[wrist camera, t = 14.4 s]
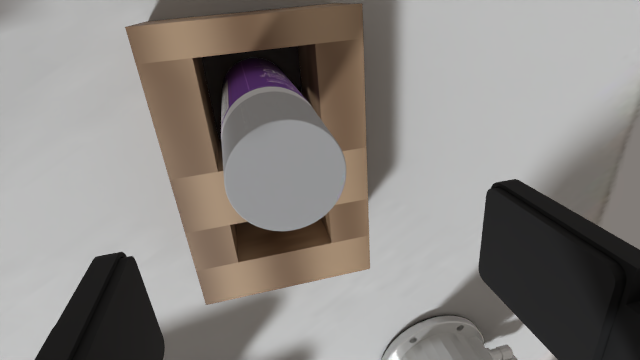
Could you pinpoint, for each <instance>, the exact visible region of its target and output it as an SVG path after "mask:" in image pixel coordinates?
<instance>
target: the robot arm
mask: <svg viewBox="0 0 640 360" xmlns="http://www.w3.org/2000/svg"><path fill="white" fill-rule="evenodd" d="M479 273H480V276H481V278H482V279H483V281H484V282H485V283H486V284H487V285H488V286H489V287H490V288H491V289H492V290H493V291H494V292H495V294H496V295H497V296H498V297H499V298H500V299H501V300H502V301H503V302H504V303H505V304H506V305H507V306H508V307H509V308H510V309H511V310H512V312H513V313H514V314H515V315H516V316H517V317H518V318H519V319H520V320H521V321H522V322H523V323H524V324H525V325H526V326H527V327H528V328H529V330H530V331H531V332H532V333H533V334H534V335H535V336H536V337H537V338H538V339H539V340H540V341H541V342H542V343H543V344H544V345H545V346H546V347H547V349H548V350H549V351H550V352H551V353H552V354H553V355H554V356H555V357H556V358H557V359H558V360H640V250H639V249H637V248H635V247H634V246H632V245H630V244H629V243H627V242H625V241H623V240H622V239H620V238H618V237H616V236H615V235H613V234H611V233H609V232H608V231H606V230H604V229H603V228H601V227H599V226H597V225H596V224H594V223H592V222H590V221H589V220H587V219H585V218H583V217H582V216H580V215H578V214H576V213H575V212H573V211H571V210H569V209H568V208H566V207H564V206H563V205H561V204H559V203H557V202H556V201H554V200H552V199H550V198H549V197H547V196H545V195H543V194H542V193H540V192H538V191H536V190H535V189H533V188H531V187H529V186H528V185H526V184H524V183H523V182H521V181H519V180H516V179H514V180H508V181H502V182H497V183H494V184H493V185H492V187H491V189H489V190H488V192H487V195H486V203H485V213H484V222H483V231H482V240H481V250H480V259H479ZM164 348H165V347H164V339H163V336H162V333H161V330H160V327H159V324H158V322H157V319H156V316H155V313H154V311H153V308H152V305H151V302H150V299H149V297H148V294H147V291H146V288H145V286H144V283H143V280H142V277H141V274H140V272H139V269H138V266H137V263H136V261H135V259H134V257H132V256H130V257H126V255H125V254H124V253H123V252H119V253H113V254H108V255H102V256H97V257H95V258H94V259H93V261H92V263H91V264H90V266H89V268H88V270H87V271H86V273H85V275H84V277H83V278H82V280H81V282H80V284H79V285H78V287H77V289H76V291H75V292H74V294H73V296H72V297H71V299H70V301H69V303H68V304H67V306H66V308H65V310H64V311H63V313H62V315H61V317H60V318H59V320H58V322H57V324H56V325H55V326H54V328H53V329H52V331H51V332H50V334H49V336H48V338H47V339H46V341H45V343H44V344H43V346H42V348H41V350H40V351H39V353H38V355H37V357H36V358H35V360H163V357H164ZM382 360H517V358H516V357H515V356H514V355H513V352H512V349H511V348H510V347H509V346H508V345H503V346H499V347H496V348H495V349H491V350H490V349H489V348H485V347H484V340H483V336H482V334H481V333H480V331H479V330H478V329H477V327H476V326H475V325H474V324H473V323H472V322H471V321H469V320H467V319H465V318H462V317H458V316H439V317H435V318H431V319H427V320H425V321H422V322H420V323H418V324H416V325H414V326H412V327H410V328H409V329H407V330H406V331H405V332H403V333H402V334H400V335H399V336H398V337H397V338H396V339H395V340H394V341H393V342H392V343H391V345H390V346H389V347H388V349H387V350H386V352H385V354H384V356H383V358H382Z"/></svg>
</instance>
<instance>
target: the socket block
mask: <svg viewBox="0 0 640 360" xmlns="http://www.w3.org/2000/svg"><path fill="white" fill-rule="evenodd" d="M125 28H126V31H127V35H128V38H129V42H130V45H131V49H132V52H133V55H134V59H135V62H136V66H137V69H138V73H139V76H140V80H141V83H142V86H143V90H144V93H145V97H146V100H147V104H148V107H149V110H150V114H151V117H152V121H153V124H154V128H155V131H156V134H157V138H158V141H159V145H160V148H161V152H162V155H163V158H164V162H165V165H166V169H167V172H168V176H169V179H170V183H171V186H172V189H173V193H174V196H175V200H176V203H177V207H178V210H179V213H180V217H181V220H182V224H183V227H184V231H185V234H186V237H187V241H188V244H189V248H190V251H191V255H192V258H193V262H194V265H195V268H196V272H197V275H198V279H199V282H200V286H201V289H202V292H203V296H204V299H205V303H206V305H208V304H213V303H217V302H222V301H226V300H231V299H235V298H240V297H244V296H249V295H253V294H258V293H262V292H267V291H271V290H276V289H280V288H285V287H289V286H294V285H298V284H303V283H307V282H312V281H316V280H321V279H325V278H330V277H334V276H339V275H343V274H348V273H352V272H357V271H361V270H366V269H370V252H369V218H368V183H367V149H366V115H365V80H364V46H363V11H362V4H343V3H332V4H322V5H312V6H301V7H291V8H281V9H271V10H260V11H250V12H240V13H229V14H219V15H209V16H199V17H188V18H178V19H168V20H157V21H147V22H143V23H140V24H136V25H132V26H128V27H125ZM293 46H298V55H299V64H300V74H301V84H302V94H303V96H304V98H305V99H306V100H307V101H308V102H309V103H310V105H311V106H312V107H313V109H314V110H315V112H316V113H317V115H318V116H319V117H320V119H321V120H322V122H323V123H324V124H325V126H326V127H327V129H328V130H329V131H330V133H331V134H332V136H333V137H334V138H335V140H336V141H337V143H338V144H339V146H340V148H341V150H342V152H343V154H344V158H345V162H346V181H345V185H344V189H343V191H342V193H341V196H340V198H339V199H338V201H337V202H336V204H335V205H334V206H333V208H332V209H331V210H330V211H329V212H328V213H327V214H326V215H325V216H323V217H322V218H321V219H319V220H318V221H316V222H314V223H312V224H311V225H308V226H306V227H303V228H300V229H296V230H290V231H272V230H267V229H263V228H260V227H257V226H255V225H253V224H251V223H249V222H248V221H246V220H245V219H244V218H242V217H241V216H240V215H239V214H238V213H237V212H236V211H235V209H234V208H233V207H232V205H231V203H230V201H229V199H228V197H227V194H226V191H225V185H224V172H223V157H222V142H221V139H219V136H218V131H217V127H216V122H215V117H214V113H213V108H212V103H211V99H210V94H209V89H208V85H207V80H206V75H205V71H204V66H203V61H202V57H206V56H214V55H223V54H232V53H240V52H249V51H258V50H267V49H275V48H284V47H293Z"/></svg>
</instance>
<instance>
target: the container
mask: <svg viewBox="0 0 640 360" xmlns="http://www.w3.org/2000/svg"><path fill="white" fill-rule="evenodd" d="M221 142H222V157H223V172H224V185H225V191H226V194H227V197H228V199H229V201H230V203H231V205H232V207H233V208H234V209H235V211H236V212H237V213H238V214H239V215H240V216H241V217H242V218H244V219H245V220H246V221H248V222H249V223H251V224H253V225H255V226H257V227H260V228H263V229H267V230H272V231H290V230H296V229H300V228H303V227H306V226H308V225H311V224H312V223H314V222H316V221H318V220H319V219H321V218H322V217H323V216H325V215H326V214H327V213H328V212H329V211H330V210H331V209H332V208H333V206H334V205H335V204H336V202H337V201H338V199H339V198H340V196H341V193H342V191H343V189H344V185H345V181H346V162H345V158H344V154H343V152H342V150H341V148H340V146H339V144H338V143H337V141H336V140H335V138H334V137H333V136H332V134H331V133H330V131H329V130H328V129H327V127H326V126H325V124H324V123H323V122H322V120H321V119H320V117H319V116H318V115H317V113H316V112H315V110H314V109H313V107H312V106H311V105H310V103H309V102H308V101H307V100H306V99H305V98H304V96H303V95H302V94H301V93H300V92H299V91H298V89H297V88H296V87H295V86H294V85H293V84H292V82H291V81H290V80H289V79H288V78H287V77H286V75H285V74H284V73H283V72H282V71H281V69H280V68H279V67H277V66H276V65H275V64H274V63H272V62H270V61H268V60H266V59H263V58H256V57H253V58H246V59H243V60H241V61H239V62H237V63H236V64H234V65H233V66H232V67H231V68H230V69H229V70H228V72H227V74H226V75H225V78H224V81H223V85H222V110H221Z"/></svg>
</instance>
